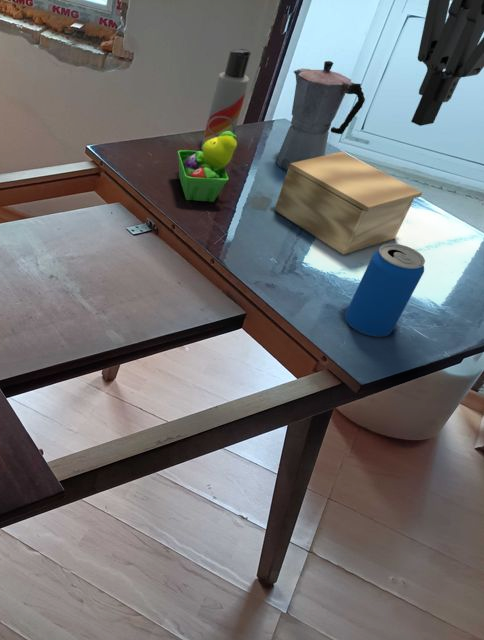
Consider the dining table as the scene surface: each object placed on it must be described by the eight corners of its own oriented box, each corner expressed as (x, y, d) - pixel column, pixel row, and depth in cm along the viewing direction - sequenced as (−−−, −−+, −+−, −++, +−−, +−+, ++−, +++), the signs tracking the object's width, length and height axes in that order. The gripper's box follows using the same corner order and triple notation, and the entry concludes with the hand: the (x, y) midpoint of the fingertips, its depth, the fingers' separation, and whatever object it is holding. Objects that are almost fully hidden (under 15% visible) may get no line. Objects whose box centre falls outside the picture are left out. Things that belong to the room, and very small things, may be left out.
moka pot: (281, 146, 143) (313, 47, 130) (347, 175, 135) (389, 72, 122) (254, 157, 139) (284, 55, 125) (321, 188, 130) (361, 82, 117)
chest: (393, 242, 116) (415, 195, 110) (341, 258, 111) (362, 210, 105) (323, 200, 126) (340, 155, 120) (272, 213, 121) (288, 167, 115)
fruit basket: (171, 174, 131) (184, 116, 123) (217, 177, 131) (233, 120, 123) (179, 203, 122) (193, 143, 115) (229, 207, 122) (246, 147, 115)
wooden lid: (420, 196, 110) (422, 192, 109) (367, 212, 105) (369, 207, 104) (340, 155, 120) (342, 151, 120) (288, 167, 115) (290, 163, 115)
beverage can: (368, 308, 101) (402, 238, 93) (400, 335, 96) (439, 264, 89) (333, 316, 99) (365, 246, 91) (365, 344, 95) (401, 272, 87)
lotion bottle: (215, 159, 137) (243, 56, 124) (194, 149, 140) (219, 47, 127) (234, 153, 139) (263, 51, 126) (213, 143, 143) (239, 42, 130)
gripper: (440, -88, 81) (365, 108, 96) (546, -68, 72) (445, 145, 88) (480, -90, 84) (401, 102, 99) (587, -70, 75) (482, 137, 91)
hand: (422, 122), depth 93 cm, fingers closed
